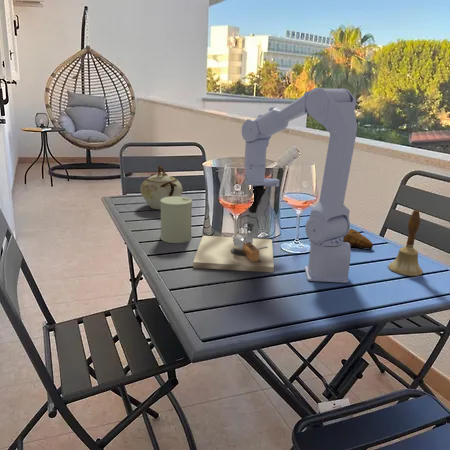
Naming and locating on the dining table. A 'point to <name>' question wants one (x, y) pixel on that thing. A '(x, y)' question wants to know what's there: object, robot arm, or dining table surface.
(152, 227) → the dining table surface
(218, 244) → the base plate
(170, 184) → the sugar bowl
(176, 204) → the can
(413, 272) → the hand bell
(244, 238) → the wooden handled dome
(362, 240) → the croissant
